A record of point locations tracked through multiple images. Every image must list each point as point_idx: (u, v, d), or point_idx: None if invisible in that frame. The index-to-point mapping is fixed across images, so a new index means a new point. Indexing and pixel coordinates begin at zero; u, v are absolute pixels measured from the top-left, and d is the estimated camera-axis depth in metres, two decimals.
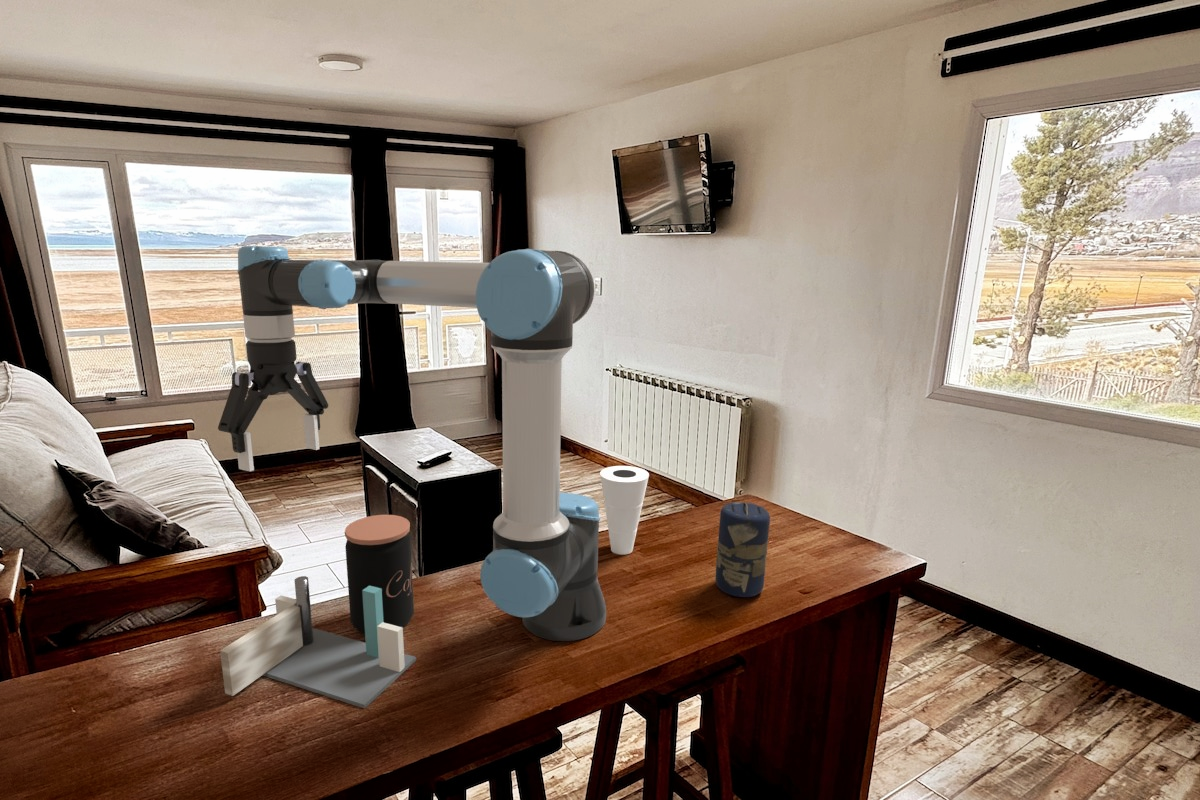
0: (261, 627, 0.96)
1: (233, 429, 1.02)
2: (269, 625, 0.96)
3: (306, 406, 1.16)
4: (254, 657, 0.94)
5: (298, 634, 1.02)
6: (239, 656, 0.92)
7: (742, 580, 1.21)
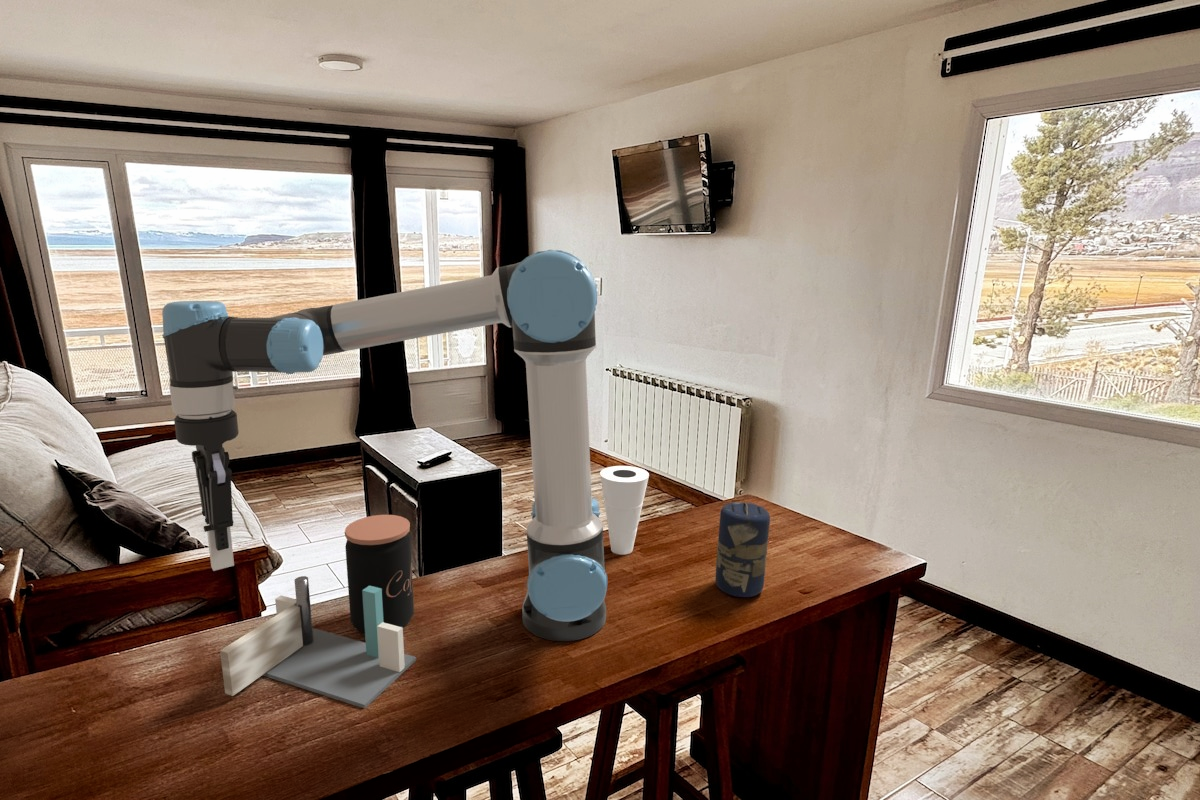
0: (261, 627, 0.96)
1: (202, 512, 0.94)
2: (269, 625, 0.96)
3: None
4: (254, 657, 0.94)
5: (298, 634, 1.02)
6: (239, 656, 0.92)
7: (742, 580, 1.21)
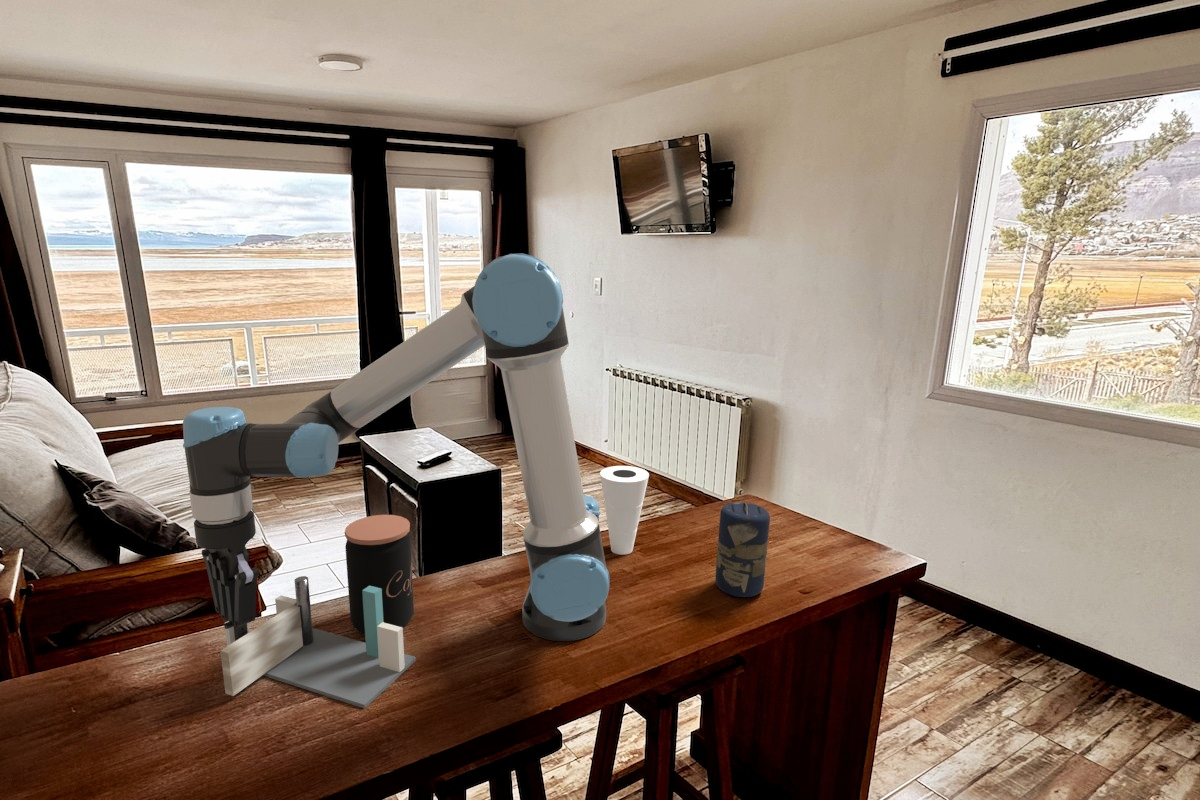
0: (261, 627, 0.96)
1: (217, 609, 0.95)
2: (269, 625, 0.96)
3: None
4: (254, 657, 0.94)
5: (298, 634, 1.02)
6: (239, 656, 0.92)
7: (742, 580, 1.21)
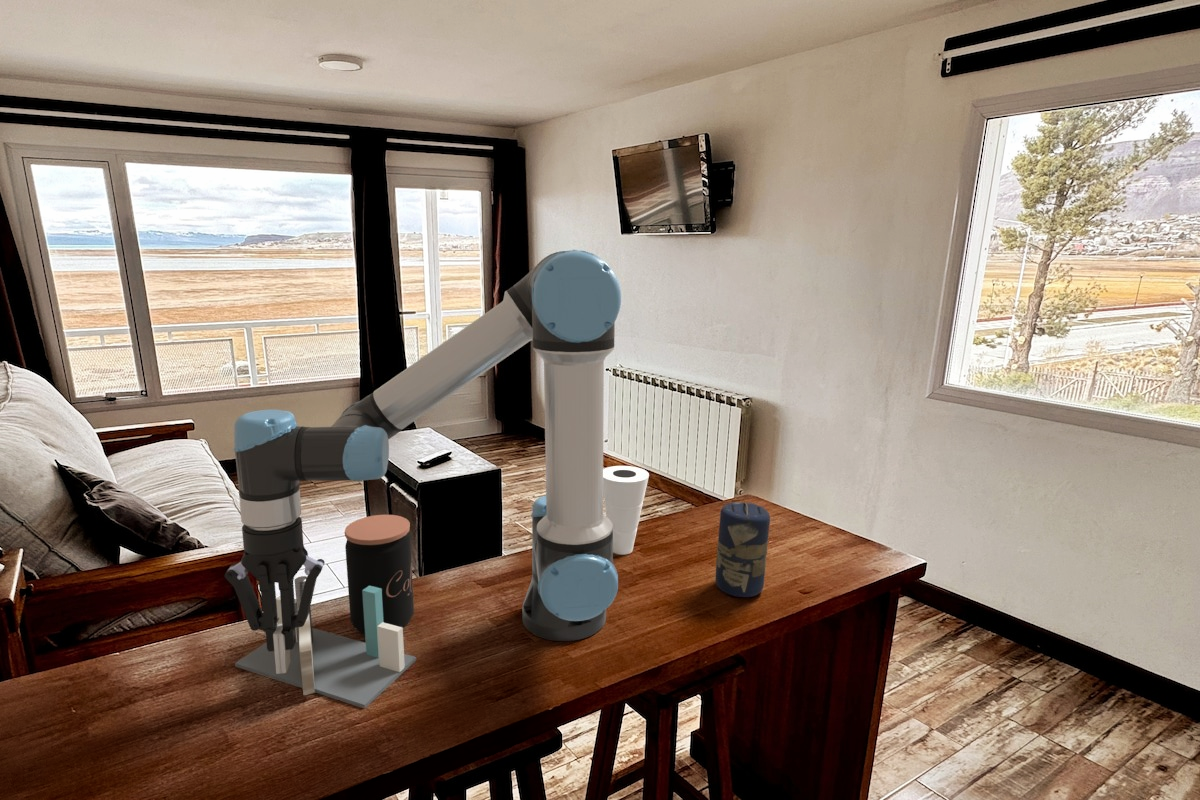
0: (303, 627, 0.96)
1: (256, 626, 0.91)
2: (308, 623, 0.97)
3: None
4: None
5: None
6: (311, 653, 0.93)
7: (742, 580, 1.21)
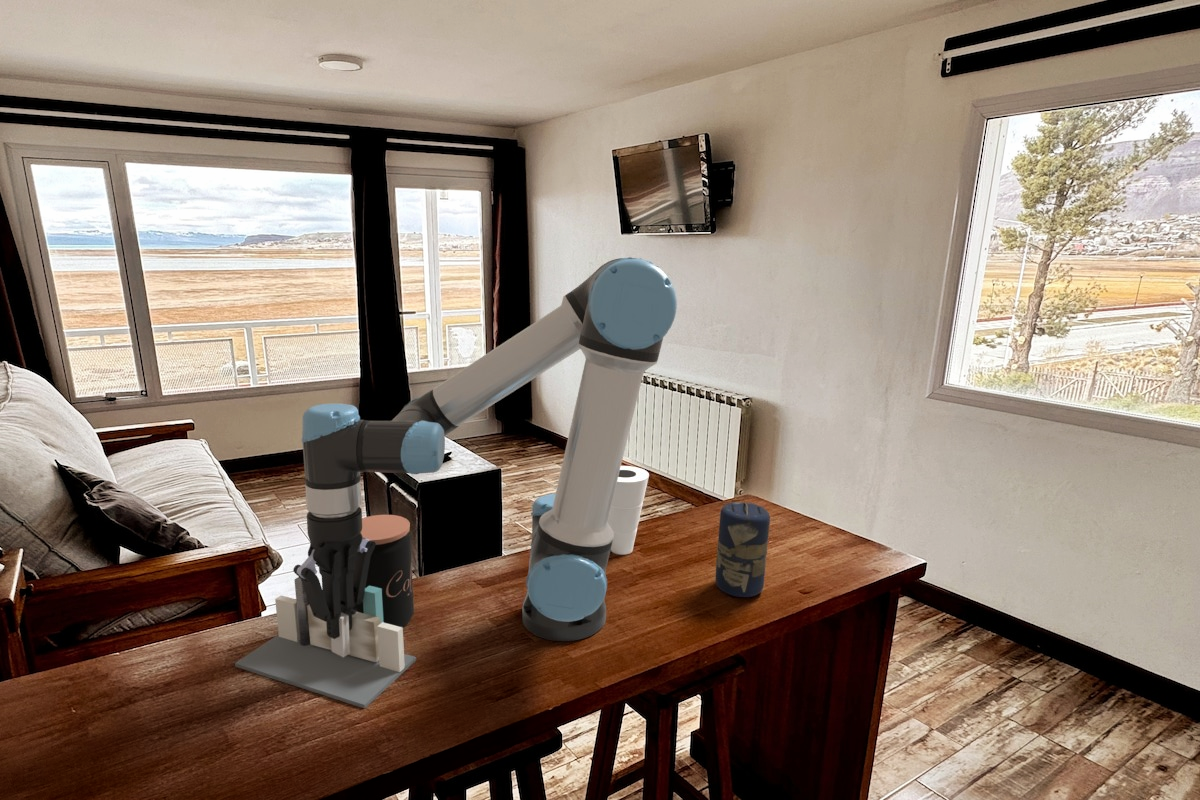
0: None
1: (328, 616, 0.94)
2: None
3: (342, 597, 0.97)
4: None
5: None
6: None
7: (742, 580, 1.21)
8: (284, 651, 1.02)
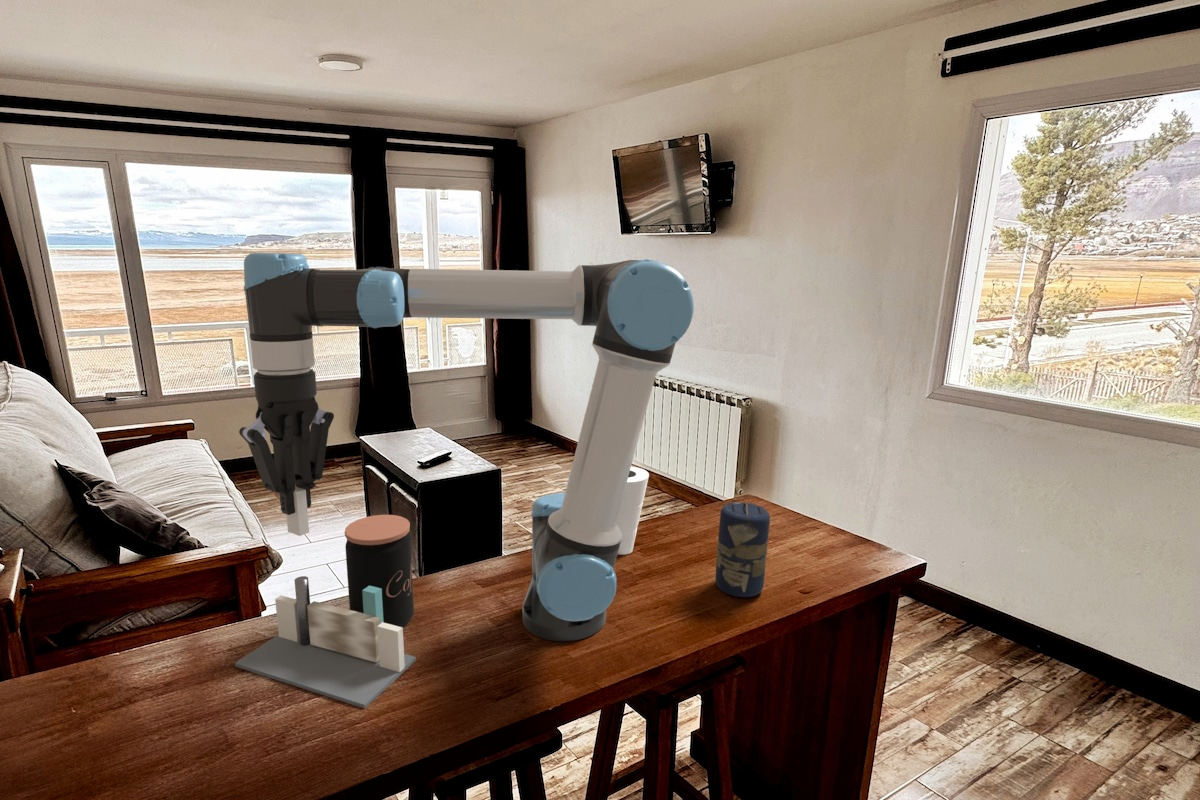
0: (342, 612, 1.00)
1: (281, 487, 0.86)
2: (341, 608, 1.01)
3: (298, 470, 0.89)
4: None
5: None
6: None
7: (742, 580, 1.21)
8: (284, 651, 1.02)
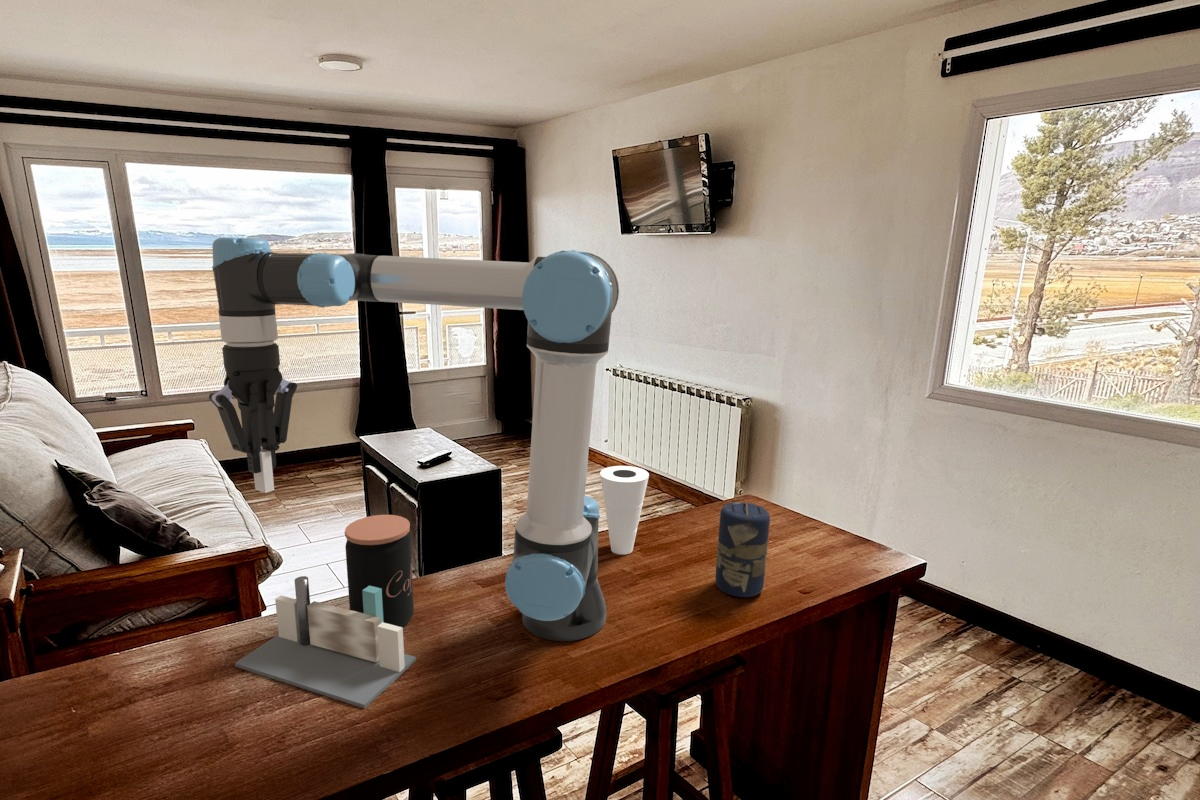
0: (342, 612, 1.00)
1: (247, 447, 0.96)
2: (341, 608, 1.01)
3: (264, 434, 1.00)
4: None
5: None
6: None
7: (742, 580, 1.21)
8: (284, 651, 1.02)
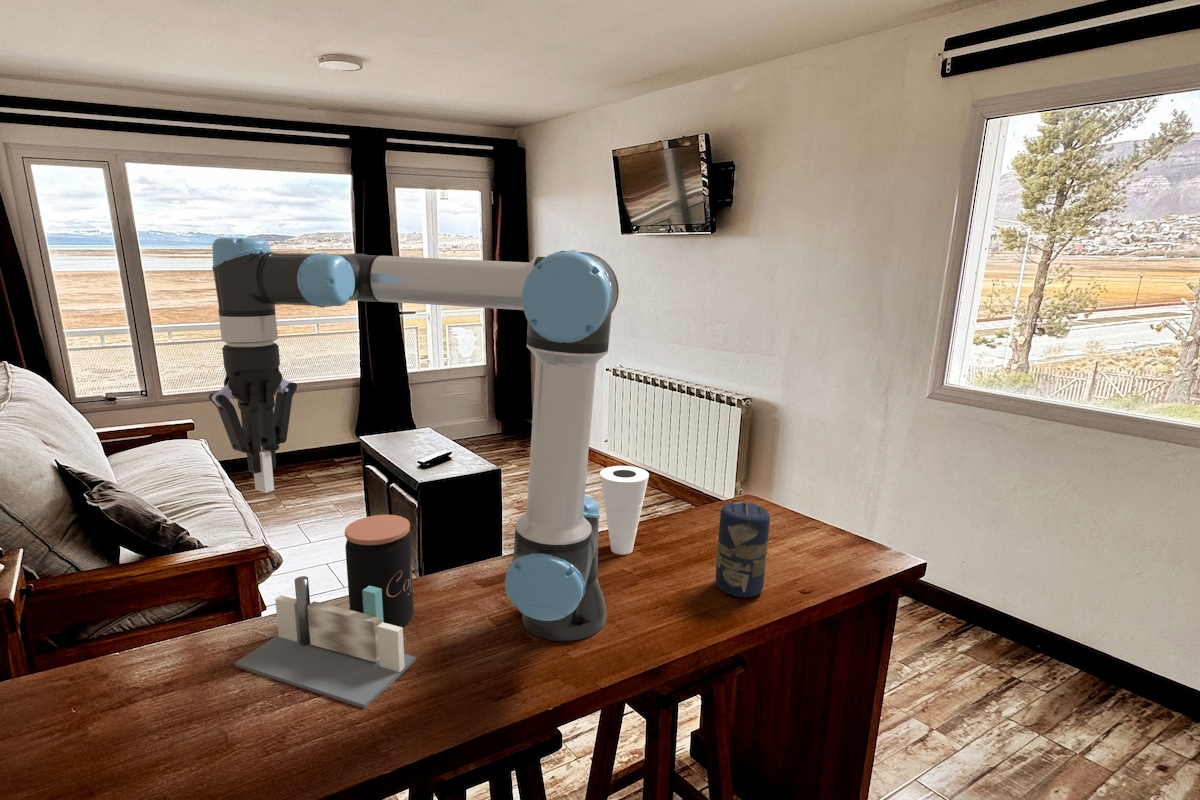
0: (342, 612, 1.00)
1: (247, 447, 0.96)
2: (341, 608, 1.01)
3: (264, 434, 1.00)
4: None
5: None
6: None
7: (742, 580, 1.21)
8: (284, 651, 1.02)
